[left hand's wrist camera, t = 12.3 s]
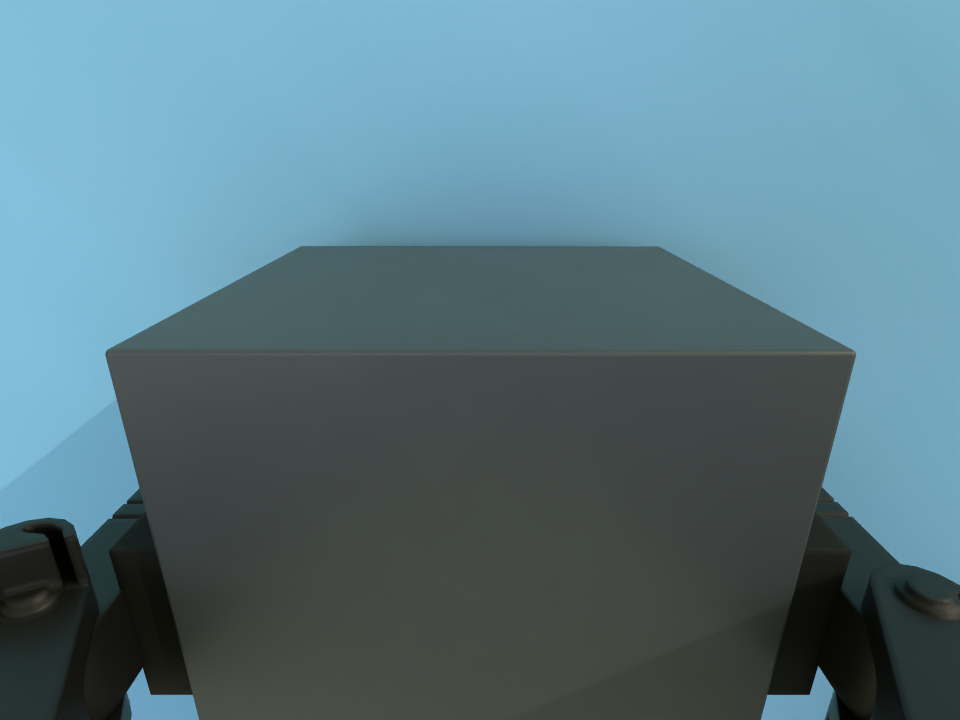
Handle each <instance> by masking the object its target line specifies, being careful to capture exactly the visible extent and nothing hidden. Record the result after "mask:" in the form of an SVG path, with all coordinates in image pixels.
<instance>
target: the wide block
mask: <svg viewBox="0 0 960 720" xmlns="http://www.w3.org/2000/svg"><path fill="white" fill-rule="evenodd" d="M855 357H856V353H855V351H853V350H852V349H850V348H848V347H846V346H844V345H842V344H840V343H838V342H837V341H835V340H833V339H831V338H829V337H827V336H825V335H823V334H822V333H820V332H818V331H816V330H814V329H812V328H810V327H808V326H807V325H805V324H803V323H801V322H799V321H797V320H795V319H793V318H792V317H790V316H788V315H786V314H784V313H782V312H780V311H778V310H777V309H775V308H773V307H771V306H769V305H767V304H765V303H763V302H762V301H760V300H758V299H756V298H754V297H752V296H750V295H748V294H746V293H745V292H743V291H741V290H739V289H737V288H735V287H733V286H731V285H730V284H728V283H726V282H724V281H722V280H720V279H718V278H716V277H715V276H713V275H711V274H709V273H707V272H705V271H703V270H701V269H700V268H698V267H696V266H694V265H692V264H690V263H688V262H686V261H685V260H683V259H681V258H679V257H677V256H675V255H673V254H671V253H670V252H668V251H666V250H664V249H662V248H660V247H477V246H301V247H299V248H297V249H295V250H294V251H292V252H290V253H288V254H286V255H284V256H282V257H280V258H279V259H277V260H275V261H273V262H271V263H269V264H267V265H265V266H264V267H262V268H260V269H258V270H256V271H254V272H252V273H251V274H249V275H247V276H245V277H243V278H241V279H239V280H237V281H236V282H234V283H232V284H230V285H228V286H226V287H224V288H222V289H221V290H219V291H217V292H215V293H213V294H211V295H209V296H207V297H206V298H204V299H202V300H200V301H198V302H196V303H194V304H192V305H191V306H189V307H187V308H185V309H183V310H181V311H179V312H177V313H176V314H174V315H172V316H170V317H168V318H166V319H164V320H162V321H161V322H159V323H157V324H155V325H153V326H151V327H149V328H148V329H146V330H144V331H142V332H140V333H138V334H136V335H134V336H133V337H131V338H129V339H127V340H125V341H123V342H121V343H119V344H118V345H116V346H114V347H112V348H110V349H108V350H107V351H106V359H107V363H108V367H109V370H110V374H111V378H112V382H113V386H114V390H115V394H116V398H117V402H118V405H119V409H120V413H121V417H122V421H123V425H124V429H125V433H126V436H127V440H128V444H129V448H130V452H131V456H132V460H133V464H134V468H135V471H136V475H137V479H138V483H139V487H140V491H141V495H142V499H143V503H144V506H145V510H146V514H147V518H148V522H149V526H150V530H151V534H152V538H153V541H154V545H155V549H156V553H157V557H158V561H159V565H160V569H161V572H162V576H163V580H164V584H165V588H166V592H167V596H168V600H169V604H170V607H171V611H172V615H173V619H174V623H175V627H176V631H177V635H178V639H179V642H180V646H181V650H182V654H183V658H184V662H185V666H186V670H187V673H188V677H189V681H190V685H191V689H192V693H193V697H194V701H195V705H196V708H197V712H198V716H199V720H761V716H762V712H763V709H764V705H765V701H766V697H767V693H768V690H769V686H770V682H771V678H772V674H773V670H774V667H775V663H776V659H777V655H778V651H779V647H780V644H781V640H782V636H783V632H784V628H785V625H786V621H787V617H788V613H789V609H790V605H791V602H792V598H793V594H794V590H795V586H796V583H797V579H798V575H799V571H800V567H801V563H802V560H803V556H804V552H805V548H806V544H807V541H808V537H809V533H810V529H811V525H812V521H813V518H814V514H815V510H816V506H817V502H818V498H819V495H820V491H821V487H822V483H823V479H824V476H825V472H826V468H827V464H828V460H829V456H830V453H831V449H832V445H833V441H834V437H835V434H836V430H837V426H838V422H839V418H840V414H841V411H842V407H843V403H844V399H845V395H846V392H847V388H848V384H849V380H850V376H851V372H852V369H853V365H854V361H855Z"/></svg>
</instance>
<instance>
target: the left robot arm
mask: <svg viewBox="0 0 960 720" xmlns="http://www.w3.org/2000/svg"><path fill="white" fill-rule="evenodd" d="M818 666H819V667H820V669H821V670H822V672H823V673H824V675H825V676H826V678H827V679H828V681H829V682H830V684H831V685H832V687H833V689H834V692H833V695H832V698H831V701H830V705H829V708H828V711H827V714H826V717H825V720H960V585H958V584H956V583H954V582H952V581H951V580H949V579H947V578H945V577H943V576H941V575H939V574H937V573H934V572H931V571H928V570H925V569H922V568H919V567H915V566H909V565H902V564H900V563H899V562H897V561H896V560H895V559H894V558H893V557H892V556H891V555H890V554H889V553H888V552H887V551H886V550H885V549H884V548H883V547H882V546H881V545H880V544H879V543H878V542H877V541H876V540H875V539H874V538H873V537H872V536H871V535H870V534H869V533H868V532H867V531H866V530H865V529H864V528H863V527H862V526H861V525H860V524H859V523H858V522H857V521H856V520H855V519H854V518H853V517H849V516H848V512H847V511H846V510H845V509H844V508H843V507H841V506H840V505H839V504H838V503H837V502H834V499H833V498H832V497H831V496H830V495H829V494H828V493H827V492H826V491H825V490H824V489H823V488H822V487H821V491H820V495H819V498H818V502H817V506H816V510H815V514H814V518H813V521H812V525H811V529H810V533H809V537H808V541H807V544H806V548H805V552H804V556H803V560H802V563H801V567H800V571H799V575H798V579H797V583H796V586H795V590H794V594H793V598H792V602H791V605H790V609H789V613H788V617H787V621H786V625H785V628H784V632H783V636H782V640H781V644H780V647H779V651H778V655H777V659H776V663H775V667H774V670H773V674H772V678H771V682H770V686H769V690H768V693H767V695H810V691H811V688H812V685H813V681H814V678H815V674H816V671H817V668H818ZM142 668H143V670H144V673H145V676H146V680H147V683H148V686H149V690H150V693H151V695H193V693H192V689H191V685H190V681H189V677H188V673H187V670H186V666H185V662H184V658H183V654H182V650H181V646H180V642H179V639H178V635H177V631H176V627H175V623H174V619H173V615H172V611H171V607H170V604H169V600H168V596H167V592H166V588H165V584H164V580H163V576H162V572H161V569H160V565H159V561H158V557H157V553H156V549H155V545H154V541H153V538H152V534H151V530H150V526H149V522H148V518H147V514H146V510H145V506H144V503H143V499H142V495H141V491H140V489H139V490H138V491H137V492H136V493H135V494H134V495H133V496H132V497H130V498H129V499H128V500H127V504H123V505H122V506H121V507H120V508H119V509H118V510H117V511H116V512H115V513H114V514H113V518H112V519H108V520H107V521H106V522H105V523H104V524H103V525H102V526H101V527H100V528H99V529H98V530H97V531H96V532H95V533H94V534H93V535H92V536H91V537H90V538H89V539H88V540H87V541H86V542H85V543H84V544H83V545H82V546H81V547H80V544H79V541H78V538H77V534H76V531H75V528H74V525H72V524H71V523H69V522H68V521H66V520H65V519H55V518H44V519H36V520H29V521H25V522H21V523H18V524H15V525H11V526H8V527H5V528H2V529H0V720H131V715H132V714H131V707H130V701H129V698H128V695H127V691H128V689H129V688H130V686H131V684H132V683H133V681H134V680H135V678H136V677H137V675H138V674H139V672H140V671H141V669H142Z"/></svg>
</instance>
